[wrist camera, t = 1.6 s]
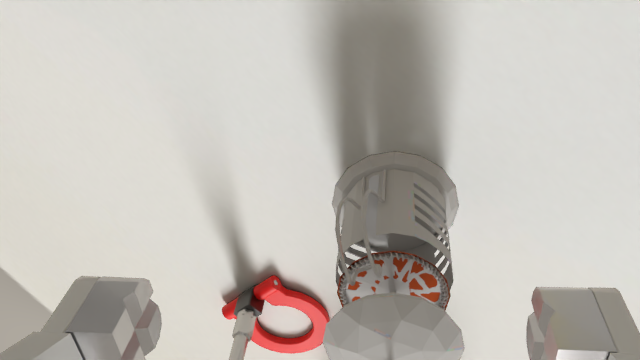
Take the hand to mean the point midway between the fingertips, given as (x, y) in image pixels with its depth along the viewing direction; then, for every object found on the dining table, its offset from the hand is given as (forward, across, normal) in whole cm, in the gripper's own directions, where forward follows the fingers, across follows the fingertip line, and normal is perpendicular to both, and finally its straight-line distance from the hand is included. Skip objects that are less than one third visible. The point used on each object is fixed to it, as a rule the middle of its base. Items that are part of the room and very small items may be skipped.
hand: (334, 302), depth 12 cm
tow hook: (+28, +9, +30) cm, 42 cm away
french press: (+27, -1, +17) cm, 32 cm away
